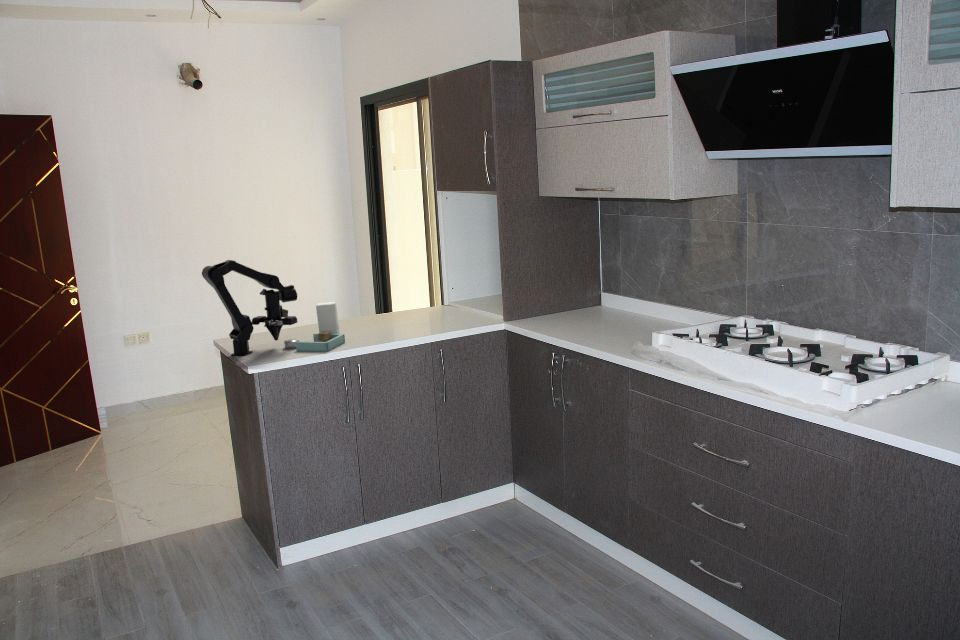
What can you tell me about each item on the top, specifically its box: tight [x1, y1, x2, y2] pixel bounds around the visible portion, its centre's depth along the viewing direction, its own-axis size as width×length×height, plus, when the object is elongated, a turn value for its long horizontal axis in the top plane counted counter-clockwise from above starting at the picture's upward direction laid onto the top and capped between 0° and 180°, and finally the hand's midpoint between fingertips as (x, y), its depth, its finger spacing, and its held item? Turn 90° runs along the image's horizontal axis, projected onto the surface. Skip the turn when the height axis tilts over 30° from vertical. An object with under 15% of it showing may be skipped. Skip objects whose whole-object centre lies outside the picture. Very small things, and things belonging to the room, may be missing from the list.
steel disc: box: [283, 338, 300, 350], centre depth 336 cm, size 6×6×3 cm
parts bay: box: [295, 333, 346, 352], centre depth 336 cm, size 16×14×4 cm
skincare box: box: [315, 301, 341, 334], centre depth 351 cm, size 8×7×16 cm
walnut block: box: [317, 332, 331, 342], centre depth 339 cm, size 4×4×5 cm
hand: (276, 340), depth 338 cm, fingers closed
